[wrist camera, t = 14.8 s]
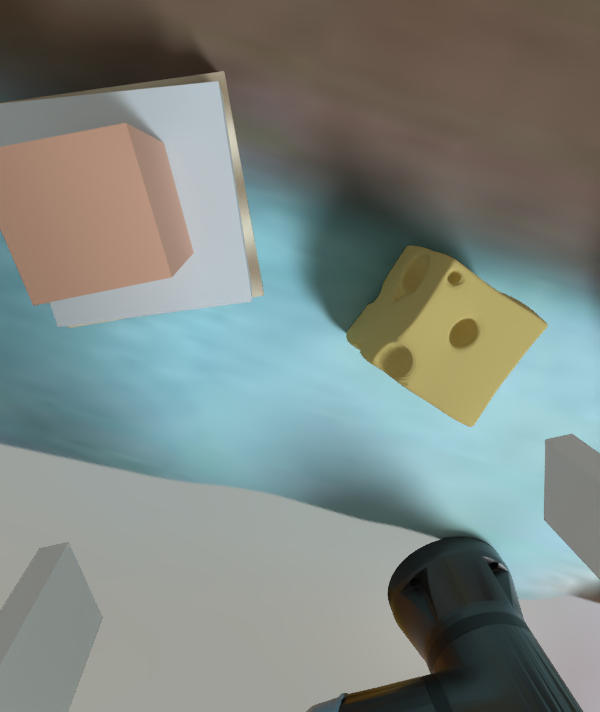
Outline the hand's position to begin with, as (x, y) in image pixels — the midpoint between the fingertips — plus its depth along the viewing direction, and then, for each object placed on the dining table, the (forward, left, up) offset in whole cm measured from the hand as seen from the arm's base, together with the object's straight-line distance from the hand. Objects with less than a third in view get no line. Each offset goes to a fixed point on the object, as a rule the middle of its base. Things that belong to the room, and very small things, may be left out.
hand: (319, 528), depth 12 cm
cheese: (-4, -13, -30) cm, 33 cm away
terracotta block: (+9, +9, -22) cm, 25 cm away
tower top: (+9, +8, -26) cm, 29 cm away
